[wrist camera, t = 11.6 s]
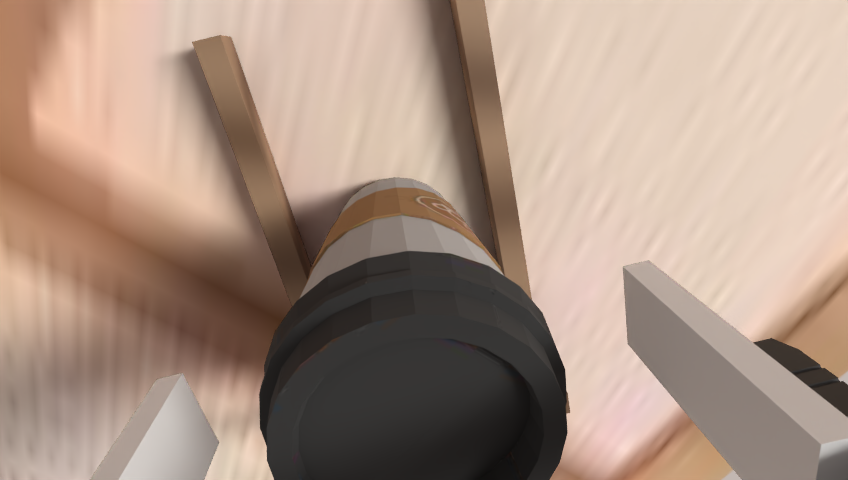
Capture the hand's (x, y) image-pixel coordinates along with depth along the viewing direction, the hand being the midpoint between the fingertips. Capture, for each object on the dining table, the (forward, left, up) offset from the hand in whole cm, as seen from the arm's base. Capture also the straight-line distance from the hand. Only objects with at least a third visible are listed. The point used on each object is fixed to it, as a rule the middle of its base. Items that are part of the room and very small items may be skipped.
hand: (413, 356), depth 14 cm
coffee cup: (0, 0, -12) cm, 12 cm away
